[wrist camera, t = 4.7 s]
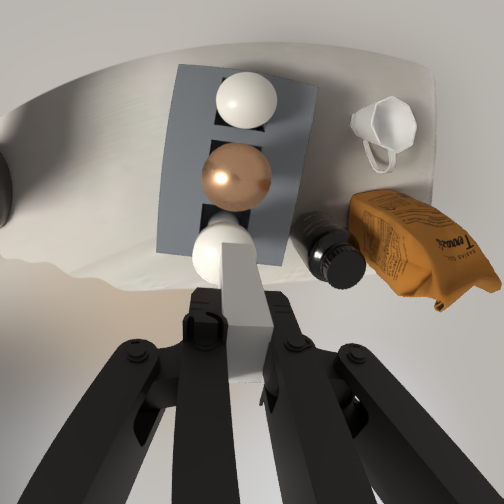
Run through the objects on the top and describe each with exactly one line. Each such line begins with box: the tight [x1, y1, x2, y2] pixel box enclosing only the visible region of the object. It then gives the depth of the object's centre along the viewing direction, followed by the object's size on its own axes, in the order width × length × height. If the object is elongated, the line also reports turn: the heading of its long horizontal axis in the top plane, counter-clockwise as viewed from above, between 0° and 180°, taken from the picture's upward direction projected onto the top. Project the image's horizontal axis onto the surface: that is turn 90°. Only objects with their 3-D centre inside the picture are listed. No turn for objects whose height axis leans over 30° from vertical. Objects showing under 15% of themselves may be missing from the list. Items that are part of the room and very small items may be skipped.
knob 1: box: [216, 72, 277, 129], centre depth 24 cm, size 5×5×8 cm
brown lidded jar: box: [201, 143, 272, 212], centre depth 23 cm, size 5×5×8 cm
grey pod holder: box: [156, 64, 318, 266], centre depth 30 cm, size 14×20×8 cm
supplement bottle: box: [291, 211, 366, 290], centre depth 33 cm, size 7×7×12 cm
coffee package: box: [348, 190, 502, 312], centre depth 29 cm, size 10×12×22 cm
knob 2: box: [192, 210, 257, 285], centre depth 26 cm, size 5×5×8 cm
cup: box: [350, 96, 417, 173], centre depth 30 cm, size 7×10×8 cm
